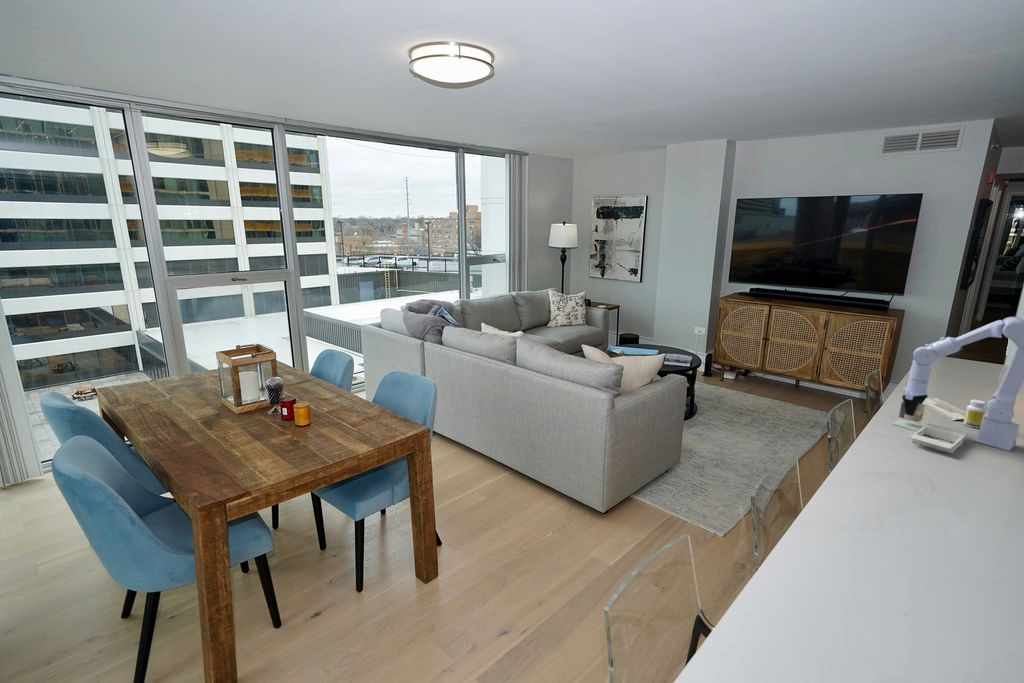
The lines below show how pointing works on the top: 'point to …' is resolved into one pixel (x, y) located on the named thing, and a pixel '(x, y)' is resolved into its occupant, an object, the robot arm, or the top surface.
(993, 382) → the top surface
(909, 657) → the top surface
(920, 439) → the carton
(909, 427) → the tile
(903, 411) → the block
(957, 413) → the newspaper
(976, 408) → the supplement bottle
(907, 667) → the top surface
